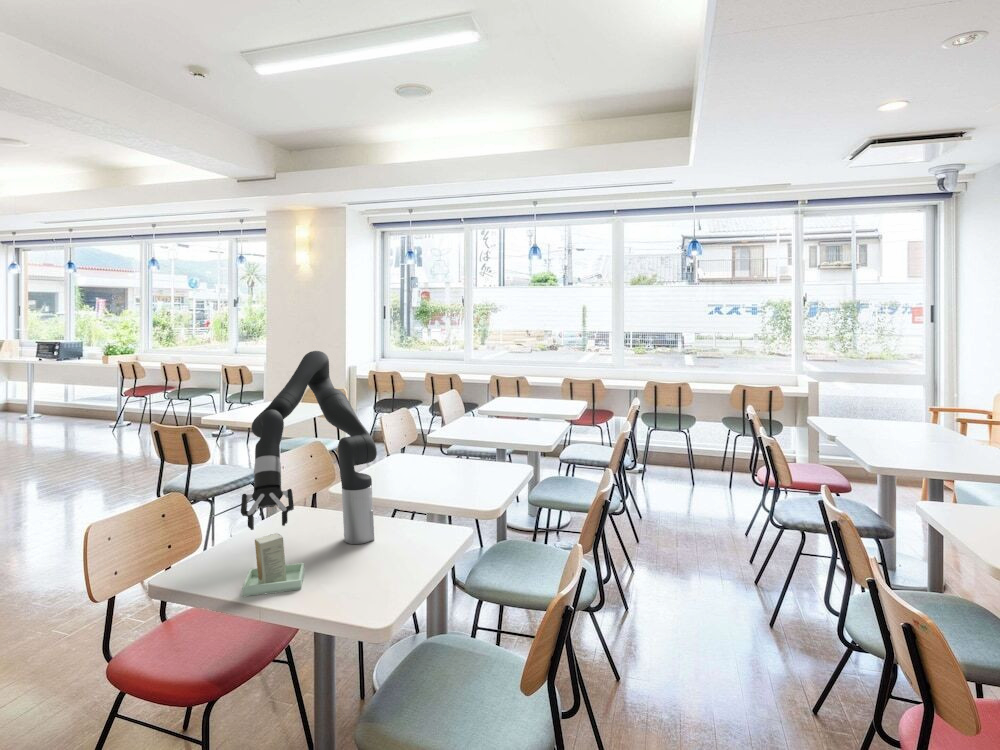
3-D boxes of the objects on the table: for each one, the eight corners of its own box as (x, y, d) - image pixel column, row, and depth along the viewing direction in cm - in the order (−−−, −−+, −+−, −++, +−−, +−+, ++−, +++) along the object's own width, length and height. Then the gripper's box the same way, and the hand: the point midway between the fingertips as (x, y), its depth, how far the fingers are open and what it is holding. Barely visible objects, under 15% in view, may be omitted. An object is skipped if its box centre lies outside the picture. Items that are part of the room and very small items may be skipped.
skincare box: (281, 575, 155) (278, 532, 153) (287, 580, 151) (284, 536, 150) (256, 583, 151) (253, 538, 149) (262, 588, 147) (259, 543, 146)
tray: (304, 571, 158) (304, 562, 158) (301, 589, 148) (300, 580, 148) (250, 577, 155) (249, 568, 155) (242, 596, 144) (242, 587, 144)
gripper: (293, 475, 177) (294, 527, 170) (244, 480, 173) (243, 533, 165) (291, 467, 170) (292, 520, 163) (239, 472, 166) (238, 527, 159)
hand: (267, 527), depth 164 cm, fingers open, 8 cm apart
